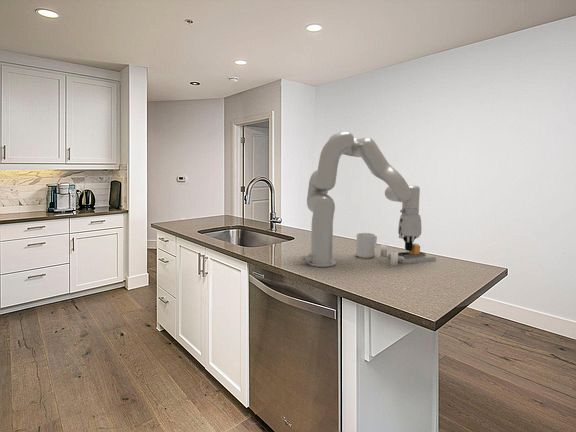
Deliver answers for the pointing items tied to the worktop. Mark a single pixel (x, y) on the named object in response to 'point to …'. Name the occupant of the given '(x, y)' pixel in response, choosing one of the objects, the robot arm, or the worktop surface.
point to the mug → (366, 245)
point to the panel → (413, 257)
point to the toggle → (415, 249)
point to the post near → (394, 259)
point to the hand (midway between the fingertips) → (408, 250)
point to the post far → (384, 250)
